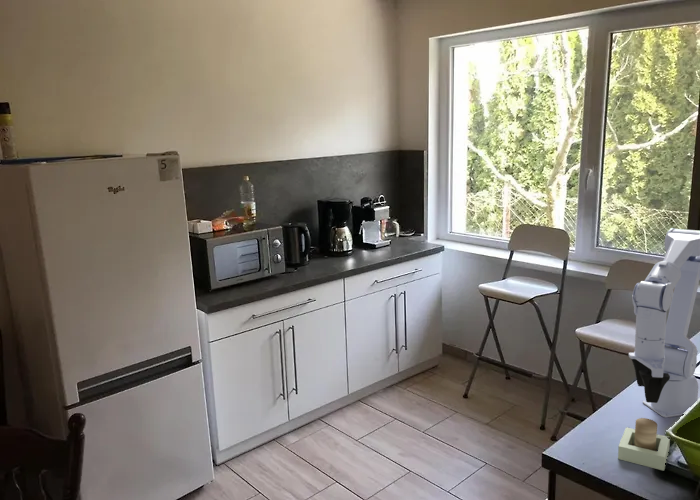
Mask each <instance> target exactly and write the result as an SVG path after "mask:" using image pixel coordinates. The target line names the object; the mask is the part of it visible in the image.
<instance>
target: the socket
mask: <svg viewBox="0 0 700 500" xmlns="http://www.w3.org/2000/svg"><path fill="white" fill-rule="evenodd" d="M667 437H668V436H667V435H662V434H658V433H657V436H656V449H655V451H653V450H649V449H644V448H640V447H636V446H634V439H635V428H630V427H625V429H624V431H623V433H622V436H621V438H620V441H619V444H618V453H617V459H618V460H621V461H625V462H629V463H633V464H636V465H641V466H643V467H647V468H652V469H656V470H659V471H662V472H663V471H665V469H666V465H665V463H666V464H667V461H666V459H667V460H668V457H669V453H670V447H671V446H670V444H671V443H670V442H671V438H670V439H668V438H667ZM657 450H658V451H657ZM668 452H669V453H668ZM667 456H668V457H667Z"/></svg>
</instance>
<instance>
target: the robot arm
mask: <svg viewBox="0 0 700 500" xmlns="http://www.w3.org/2000/svg"><path fill="white" fill-rule="evenodd" d="M664 249H665V252H666V253H665V256H664V258H663V260H661V261H658V262H656V263H655V264H654V265H653V267H652V268H651V270H650V272H649V273H648V275H647V276H646V277H645V279H644V280H641V281H640V282H637V283H636V284H635V285H634V288H633V291H632V296H631V297H632V298H631V299H632V305H633V313H634V315H635V335H634V338H635V339H634V351H633V352H628V357H629V359H631V361H632V365H633V368H634V374H635V379H636V384H637V386H638V387H643V388H644V390H643V391H644V397H645V400H642V404H643V405H645V406H646V407H648V408H649V409H651V410H652V411H654V412H655V413H657V414H659V416H661V417H662V418H672V417H679V416H683V415H682V414H683V413H684V412H685V411H686V410H687V409H688V408H689V407H691V406H692V405H693V404H694V403H695V402H696V401H697V402H698V398H699V397H698V396H699V395H698V394H699V383H698V380H697V378H696V376H695V375H694V374H695V372H696V368H697V364H698V363H697V362H698V361H697V360H698V359H697V358H698V357H697V356H698V348H697V345H695V343H694V342H693V341H691V339H690V338H688V332H689V329H690V328H689V327H690V324H691V320H692V315H693V309H694V307H695V302H696V298H697V292H698V288H699V283H700V230H695V229H683V228H675V227H671V228H669V230H667V232H666V233H665V238H664ZM667 311H668V314H667Z"/></svg>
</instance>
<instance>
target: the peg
mask: <svg viewBox="0 0 700 500" xmlns="http://www.w3.org/2000/svg"><path fill="white" fill-rule="evenodd" d="M634 429H635V439H634V446H636V447H640V448H644V449H649V450H653V451H655V449H656V436H657V434H658V423H657V422H656V421H655V420H653V419H650V418H646V417H639V418H636V420H635V426H634Z"/></svg>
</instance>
